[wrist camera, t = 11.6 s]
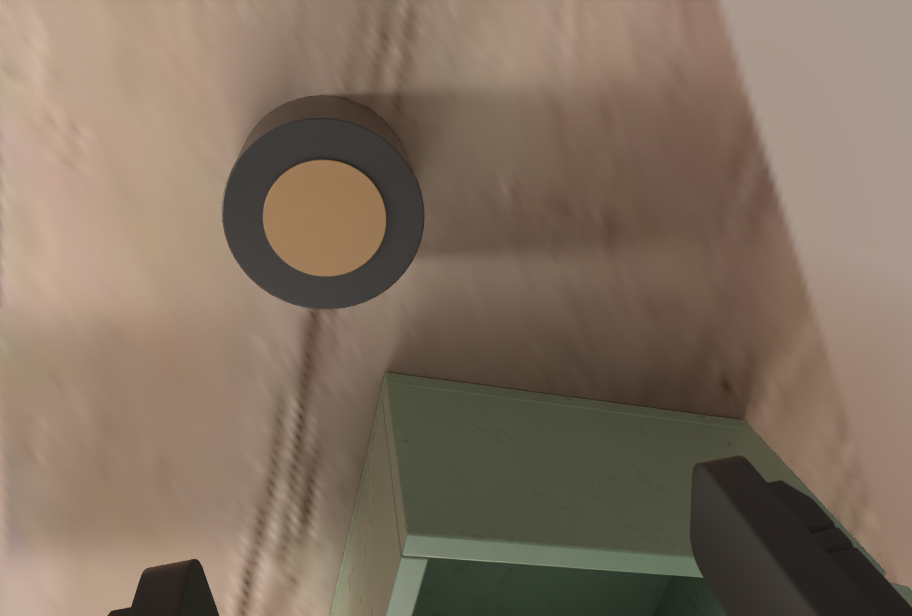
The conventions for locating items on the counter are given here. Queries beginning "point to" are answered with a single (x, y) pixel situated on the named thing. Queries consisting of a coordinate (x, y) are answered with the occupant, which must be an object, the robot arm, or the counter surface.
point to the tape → (323, 204)
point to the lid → (904, 592)
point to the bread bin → (533, 505)
